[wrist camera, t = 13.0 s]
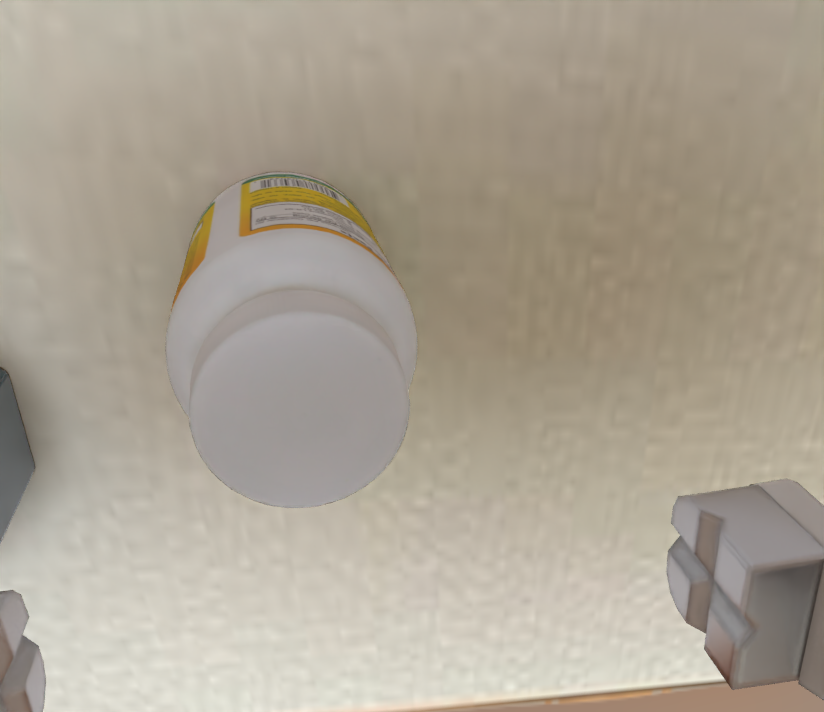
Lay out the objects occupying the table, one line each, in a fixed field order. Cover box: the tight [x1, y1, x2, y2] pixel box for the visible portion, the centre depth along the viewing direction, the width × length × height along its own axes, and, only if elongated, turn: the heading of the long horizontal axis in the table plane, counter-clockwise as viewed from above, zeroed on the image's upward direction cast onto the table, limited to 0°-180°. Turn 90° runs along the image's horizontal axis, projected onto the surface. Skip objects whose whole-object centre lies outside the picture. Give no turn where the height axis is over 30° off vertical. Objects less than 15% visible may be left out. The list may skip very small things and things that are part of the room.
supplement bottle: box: [165, 172, 417, 508], centre depth 18 cm, size 5×5×10 cm
